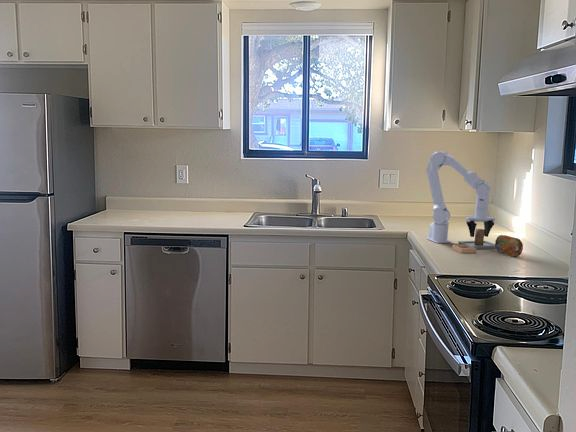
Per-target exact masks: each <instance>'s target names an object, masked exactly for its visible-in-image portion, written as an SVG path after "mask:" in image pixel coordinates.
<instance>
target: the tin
mask: <svg viewBox="0 0 576 432" xmlns="http://www.w3.org/2000/svg"><path fill="white" fill-rule="evenodd" d="M494 241H495V243H494V244H495V247H496V249H495V250H496V251H497V252H498V253H499V254H502V255H505V256H509V257H519V256H520V255H522V253H523V249H524V244H523V242H522V240H521V239H520V238H518V237H517V238H516V237H514V236H509V235H503V234H500V235H498V236H497V237H496V239H495V240H494Z"/></svg>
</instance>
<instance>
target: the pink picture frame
mask: <svg viewBox="0 0 576 432" xmlns="http://www.w3.org/2000/svg"><path fill="white" fill-rule="evenodd" d="M451 250H452V251H455V252H458V253H459V254H470V253H471V254H472V253H473V254H475V253H476V252H477V249H476V248H474V247H471V246H469V245H458V244H452V245H451Z"/></svg>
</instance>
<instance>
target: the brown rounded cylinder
mask: <svg viewBox="0 0 576 432" xmlns="http://www.w3.org/2000/svg"><path fill="white" fill-rule="evenodd" d="M484 238H485V236H484V228H475V234H474V241H475V242H474V245H477V246H483V241H485V239H484Z"/></svg>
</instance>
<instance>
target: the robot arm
mask: <svg viewBox="0 0 576 432" xmlns="http://www.w3.org/2000/svg"><path fill="white" fill-rule="evenodd" d="M442 166H448V167H449V166H450V167H451V168H453V169H454V170H455V171H456V172H458V173H459V174H460V175H461V176H463V181H464V182H465V183H466V184H468V185H469V186H470V187H471V188H472V189H473V190H475V193H476V199H475V206H474V207H475V209H474V216H469V217H468V216H467V217H466V218H465V222H466V225H467V227H468V230H469V231H468V232H469V236H470V237H471V238H475V231H476V229H477V225H478V224H477V222H483V225H484V228H483V229H484V237H487V238H488V237H489V235H490V232H491V230H492V228H493V227H494V225H495V222H496V217H494V216H488V214H489V213H488V212H489V203H490V192H491V190H492V187H491V185H490V183H488V182H486V180H485V179H482V178H481V177H480V176H478V173H477V172H475V171H472V170H470V171H469V170H468V169H466V168H465V166H464V165H463V164H462V163H460V162H459V161H458V160H457V158H455V157H454V156H452V154H450V153H448V151H445V150H440V151H439V150H438V151H437V150H436V151H434V152H433V153H432V154H431V156H430V157H429V160H428V164H427V167H426V170H425V171H426V175H427V181H428V184H429V189H430V193H431V199H432V203H433V210H432V211H433V214H432V219H433V222H431V223H430V225H429V227H428V228H429V230H428V237H427V238H426V240H428V241H432V242H434V243H437V244H438V243H439V244H440V243H441V244H442V243H444V244H445V243H451V242H452V241H450V240H448V236H449V235H448V234H449V220H450V218H451V213H450V211H449V209H448V208H447V205H446V203H445V200H444V196H443V190H442V185H441V182H440V176H439V170H440V169H441V167H442Z"/></svg>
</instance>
